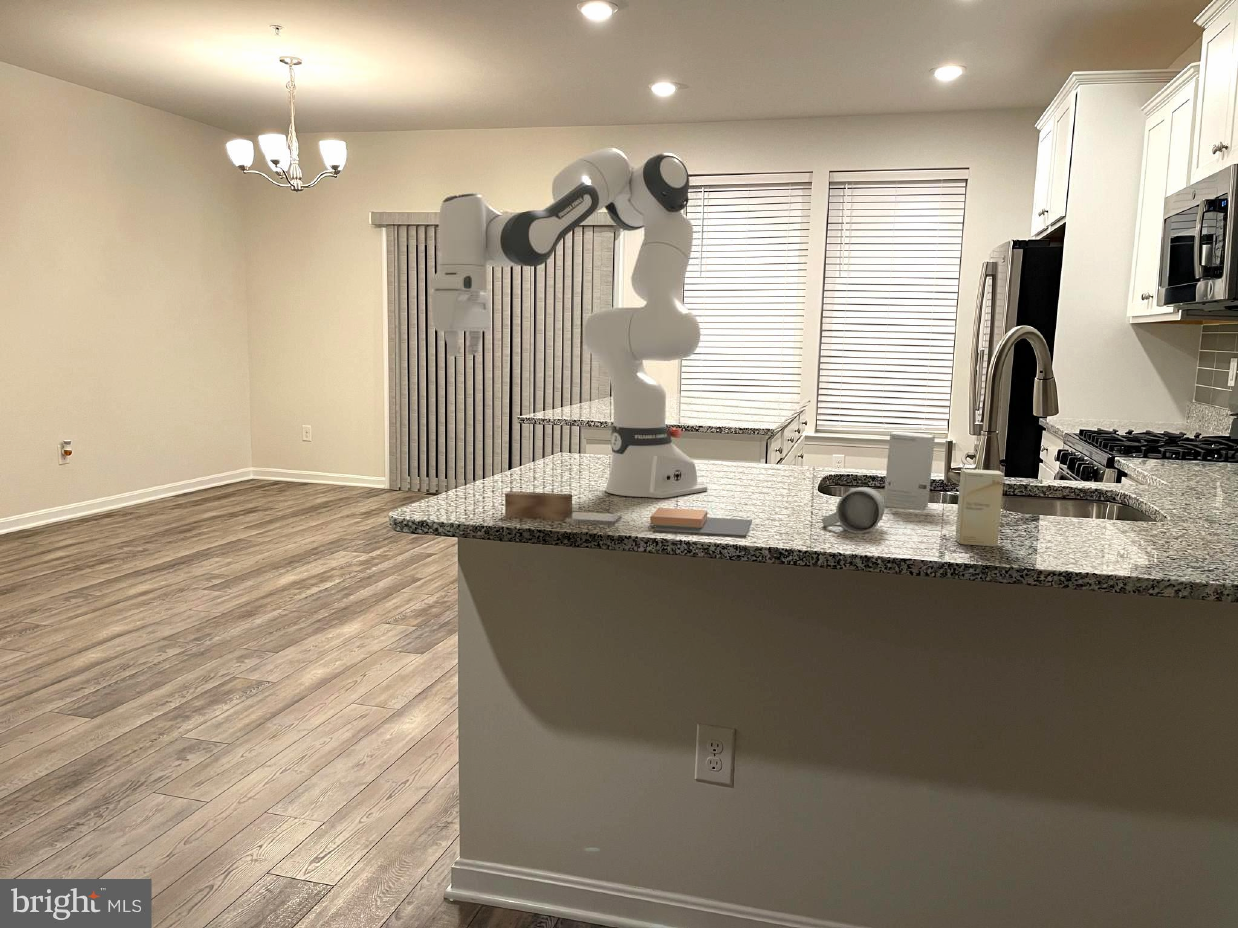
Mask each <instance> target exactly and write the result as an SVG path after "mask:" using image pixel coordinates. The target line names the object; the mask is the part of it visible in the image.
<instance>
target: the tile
mask: <svg viewBox="0 0 1238 928" xmlns="http://www.w3.org/2000/svg"><path fill="white" fill-rule="evenodd" d="M707 517H708V510H707V509H692V508H671V507H670V508H669V507H657V509H656V510H655V511H653V512H652V514H651V515H650V518H649V519H650V520H649V522H650V523H649V525H651V526H652V527H655V526H658V527H674V528H691V529H700V528H702V526H703V524H704V523H705V521H706V519H707Z"/></svg>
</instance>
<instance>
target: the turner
mask: <svg viewBox="0 0 1238 928" xmlns="http://www.w3.org/2000/svg"><path fill="white" fill-rule="evenodd" d="M504 501H505V502H504V505H505V506H504V512H505V513H504V515H505V518H518V519H534V520H551V521H565V523H568V524H569V523H570V524H587V525H603V526H604V525H606V526H615V525H616V524H617V523H619V522H620V520H622V518H623V517H622V516H623V515H622V514H620V513H619V514H617V513H597V512H585V511H583V512H582V511H581V512H580V511H573V494H572V493H571V494H569V493H554V492H553V493H552V492H532V491H531V492H530V491H518V490H517V491H513V490H510V491H508V492H506V493H505V494H504Z"/></svg>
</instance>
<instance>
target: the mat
mask: <svg viewBox="0 0 1238 928" xmlns="http://www.w3.org/2000/svg"><path fill="white" fill-rule="evenodd" d="M752 522H753V520H752V519H748V518H747V519H745V518H743V519H742V518H729V517H728V518H727V517H725V518H724V517H711V516H710V517H708V516H707V519H706V521H705V523H704V524H703V526H702V528H700V529H691V528H674V527H658V526H654V527H653V529H652V532H653V533H662V534H663V533H667V534H680V535H681V534H682V535H699V536H712V537H713V536H715V537H731V538H747V536H748V534H749V531H750V528H751V525H752V524H753V523H752Z"/></svg>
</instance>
